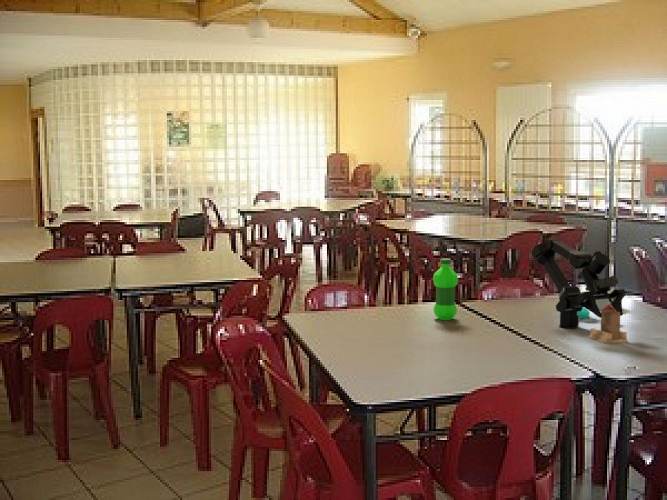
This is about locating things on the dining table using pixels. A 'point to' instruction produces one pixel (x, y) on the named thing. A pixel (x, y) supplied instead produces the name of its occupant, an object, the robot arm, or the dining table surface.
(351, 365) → the dining table surface
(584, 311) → the donuts
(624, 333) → the oak base
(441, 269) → the plastic bottle
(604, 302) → the lumpy-topped squat cylinder
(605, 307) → the red rounded piece
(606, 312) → the brown cardboard box
